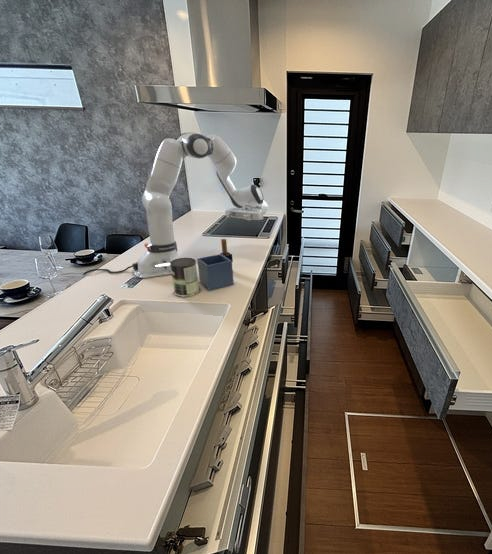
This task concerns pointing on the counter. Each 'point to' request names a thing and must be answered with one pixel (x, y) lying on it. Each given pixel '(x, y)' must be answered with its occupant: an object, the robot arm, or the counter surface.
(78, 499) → the counter surface
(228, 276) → the bin
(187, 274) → the coffee can
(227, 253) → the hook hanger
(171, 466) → the counter surface
